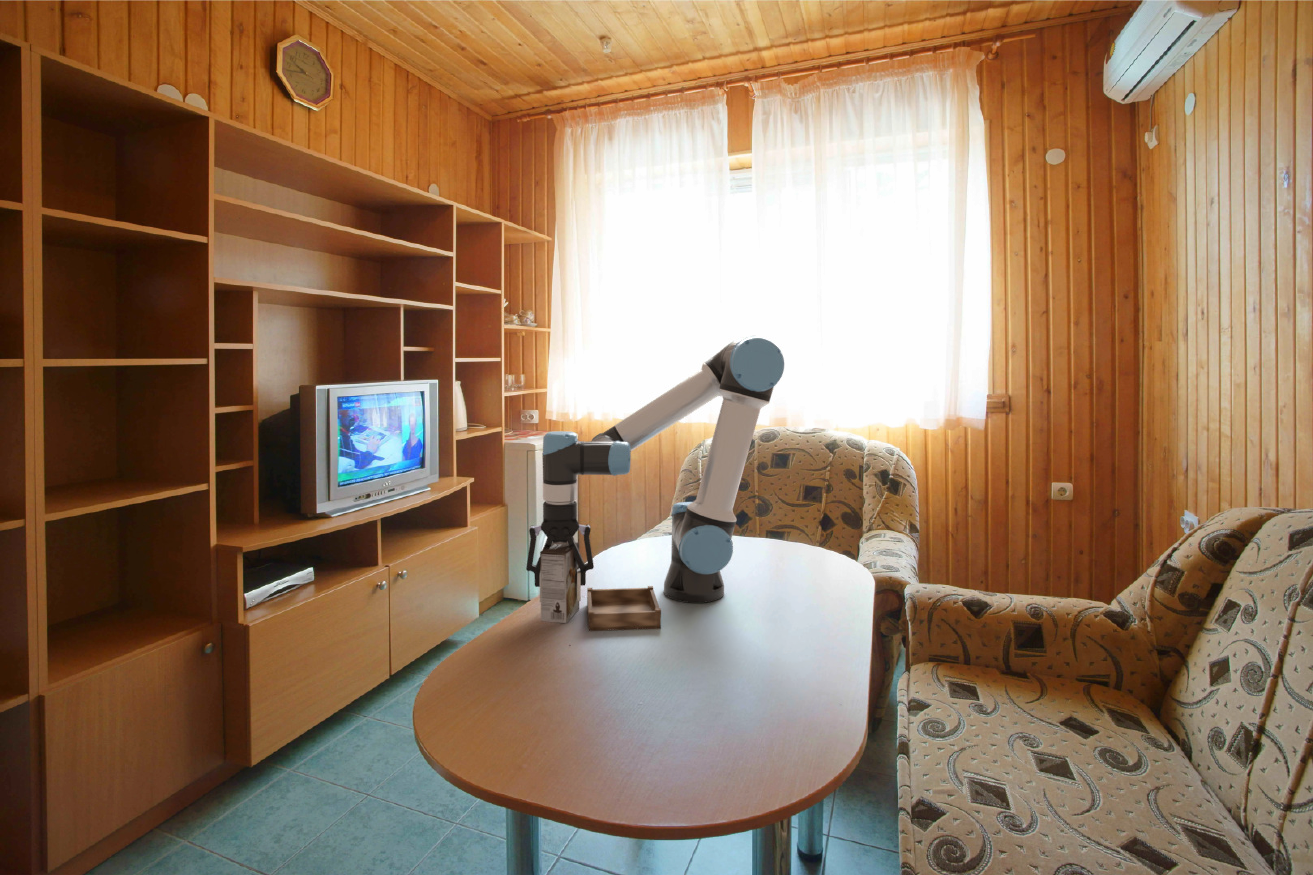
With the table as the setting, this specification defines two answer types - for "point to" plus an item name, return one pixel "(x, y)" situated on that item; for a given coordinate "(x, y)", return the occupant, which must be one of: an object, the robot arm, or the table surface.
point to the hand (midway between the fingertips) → (560, 599)
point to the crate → (623, 609)
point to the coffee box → (558, 583)
